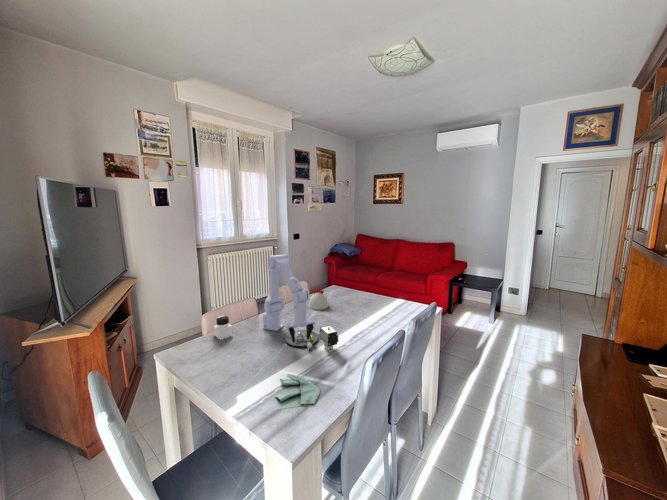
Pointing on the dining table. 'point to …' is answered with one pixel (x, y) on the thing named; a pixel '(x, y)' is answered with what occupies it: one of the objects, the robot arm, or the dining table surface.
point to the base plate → (303, 347)
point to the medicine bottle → (223, 328)
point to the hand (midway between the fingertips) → (300, 340)
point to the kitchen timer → (318, 300)
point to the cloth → (298, 393)
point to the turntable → (312, 339)
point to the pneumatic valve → (328, 337)
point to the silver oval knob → (309, 346)
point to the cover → (299, 336)
